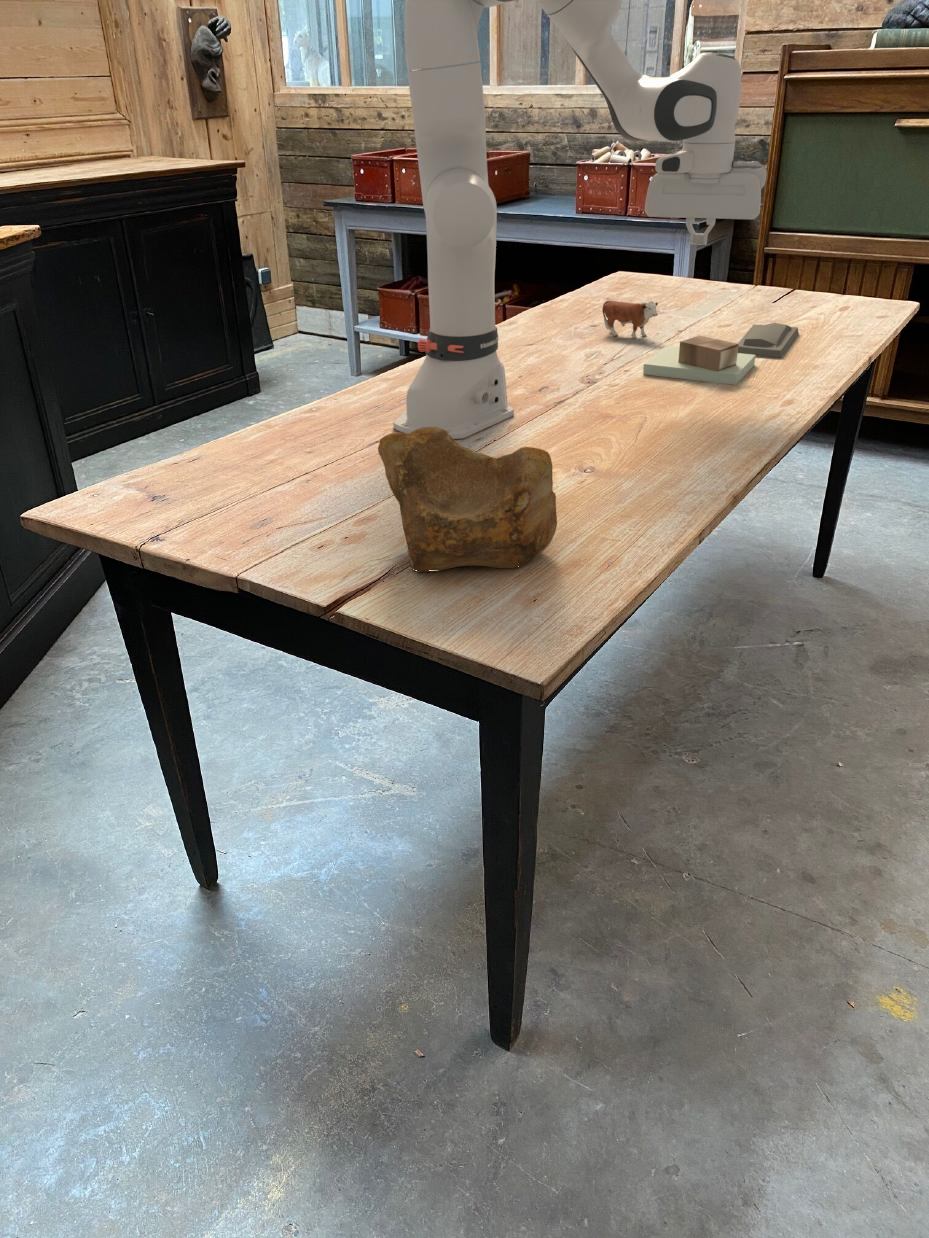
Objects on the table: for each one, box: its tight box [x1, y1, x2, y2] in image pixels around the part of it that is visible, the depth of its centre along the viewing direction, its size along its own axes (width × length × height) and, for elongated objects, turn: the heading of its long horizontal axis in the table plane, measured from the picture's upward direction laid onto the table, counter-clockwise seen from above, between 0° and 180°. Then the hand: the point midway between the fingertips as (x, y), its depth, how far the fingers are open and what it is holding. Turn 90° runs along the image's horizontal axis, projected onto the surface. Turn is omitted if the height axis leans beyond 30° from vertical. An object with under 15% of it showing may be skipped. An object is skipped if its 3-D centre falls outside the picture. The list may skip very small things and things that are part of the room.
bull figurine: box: [602, 299, 659, 339], centre depth 204 cm, size 4×13×8 cm, turn 53°
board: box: [642, 345, 757, 386], centre depth 183 cm, size 14×18×2 cm
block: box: [678, 335, 739, 372], centre depth 179 cm, size 6×4×9 cm
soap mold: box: [738, 322, 800, 359], centre depth 197 cm, size 10×20×4 cm, turn 153°
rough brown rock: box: [377, 427, 558, 571], centre depth 114 cm, size 23×16×15 cm
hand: (698, 244), depth 172 cm, fingers closed
